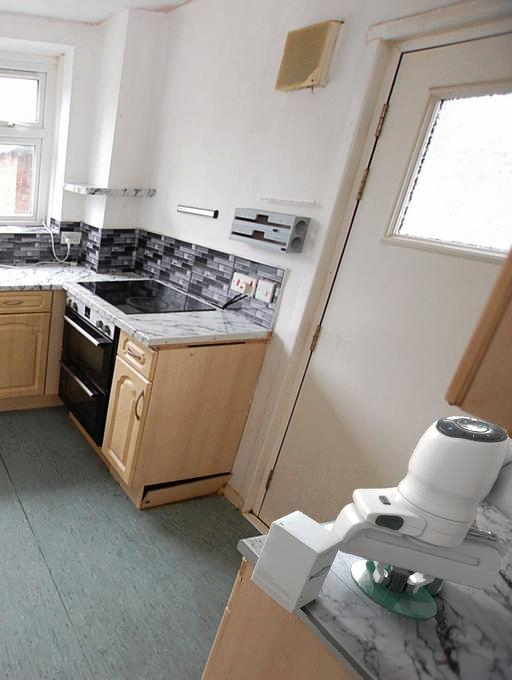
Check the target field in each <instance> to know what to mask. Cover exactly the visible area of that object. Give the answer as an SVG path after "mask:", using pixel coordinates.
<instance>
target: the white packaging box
mask: <svg viewBox="0 0 512 680" xmlns="http://www.w3.org/2000/svg"><path fill="white" fill-rule="evenodd" d="M342 542H343V539H342V538H340V537H339V536H337V535H336V534H334V533H333V532H331V529H328V528H326V527H325V526H323V525H322V524H321V523H319V522H317V521H316V520H314V519H313V518H311V517H309V516H308V515H306V514H305V513H303V512H302V511H300V510H295V511H293V512H291V513H288V514H287V515H284V516H282V517H281V518H278V519H276V520H274V521H272V522H271V525H270V527H269V530H268V533H267V535H266V538H265V541H264V543H263V545H262V548H261V551H260V554H259V556H258V559H257V561H256V564H255V566H254V570H253V571H252V574H251V577H250V581H251V582H253V583H254V584H255V585H256V586H257V587H258V588H259V589H261V590H262V591H263V592H264V593H265V594H267V595H268V596H269V597H270V598H271V599H273V600H274V601H275V602H276V603H277V604H278V605H280V606H281V607H282V608H283V609H284V610H285V611H286V612H288V613H289V614H291V615H292V614H294V613H295V612H297V611H298V610H299V609H301V608H302V607H304V606H306V605H307V604H308V603H310V602H313V601H314V600H316V599H318V596H319V594H320V593H321V589H322V588H323V586H324V583H325V581H326V579H327V577H328V575H329V573H330V571H331V568H332V567H333V563H334V562H335V559H336V557H337V555H338V553H339V548H340V546H341V544H342Z"/></svg>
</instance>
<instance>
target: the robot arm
mask: <svg viewBox="0 0 512 680" xmlns="http://www.w3.org/2000/svg"><path fill="white" fill-rule="evenodd" d="M352 500H353V502H350V503H348V504H347V505H345V506H344V507H343V508H342V509H341V510H340V512H339V513H338V515H337V517H336V519H335V521H334V523H333V524H332V527H331V529H330V531H331V532H333V533H334V534H336V535H337V536H339V537H340V538H342V539H343V542H342V544H341V546H340V548H339V550H338V552H340V553H344V554H347V555H350V556H355V557H359V558H362V559H365V560H373V561H374V564H375V567H376V569H375V571H374V573H373V577H374V579H375V581H376V583H380V584H383V585H388V584H389V583H388V582H390V580H391V577H390V576H389V575H388V572H387V570H384V569H383V568H386V569H387V568H388V566H389V565H391V566H395V567H399V568H402V569H406V570H410V571H413V572H416V573H415V574H413V575H411V576H410V577H409V579H408V581H407V583H406V585H405V587H404V589H403V590H405V591H408V592H411V593H415V594H416V593H417V591H418V589H419V587H421V586H424V585H426V584H429V583H431V582H433V581H434V579H435V577H436V578H439V579H443V580H447V581H446V582H449V583H454V584H458V585H462V586H465V587H469V588H473V589H476V590H481V591H485V590H488V589H490V588H492V587H493V586H494V585H495V583H496V580H497V579H498V575H499V573H500V570H501V567H502V559H503V558H505V556H506V555H507V554H508V551H509V550H510V546H509V542H508V541H507V540H506V539H505V538H504V537H502V536H501V534H499V533H497V532H493V531H490V530H489V531H488V530H487V531H486V530H482V529H479V528H476V527H473V526H472V525H473V524H474V522H475V521H476V518H477V517H478V516H477V515H478V509H479V508H480V507H488V508H491V509H492V510H494V511H495V512H496V513H498V514H499V515H500V516H501V517H503V518H505V519H506V520H507V521H508V522H510V523H511V524H512V438H511V437H510V436H509V434H508V433H507V432H506V430H504V429H503V428H501V427H500V426H498V425H496V424H494V423H491V422H488V421H485V420H482V419H479V418H474V417H468V416H459V415H455V416H454V415H453V416H444V417H441V418H438V419H437V420H435V421H434V422H433V423H432V424H431V425H430V426H429V427H428V428H427V429H426V430H425V432H424V433H423V435H422V436H421V438H420V439H419V441H418V443H417V444H416V446H415V447H414V450H413V452H412V454H411V456H410V458H409V461H408V465H407V473H406V475H405V477H404V478H403V479H402V480H401V481H399V483H398V485H397V487H386V488H357V489H354V491H353V493H352Z"/></svg>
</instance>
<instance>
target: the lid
mask: <svg viewBox="0 0 512 680" xmlns="http://www.w3.org/2000/svg"><path fill="white" fill-rule="evenodd" d="M375 569H376V567H375V564H374V561H370V560H369V559H365V560H364V559H362V560H358V561H356V562H354V563H353V564H352V565H351V568H350V572H349V573H350V576H351V580H352V581H353V583H354V585H355V586H356V587H357V589H359V591H361V592H362V594H363V595H365V596H366V597H367V598H368V599H370V601H372V602H374V603H375V604H376V605H378V606H379V607H381V608H382V609H384V610H386V611H387V612H390V613H392V614H394V615H395V616H398V617H402V618H405V619H408V620H411V621H416V622H417V621H418V622H426V621H430V620H432V619H433V618H434V617H436V615H437V614H438V613H437V612H438V605H437V603H436V600H435V599H434V597H433V595H430V594H429V592H428V591H427V590H426V589H425V588H424V587H423V586H421V587H419V589H418V591H417V593H416V594H415V593H411V592H408V591H405V590H403V589H404V587H405V585H406V583H407V581H408V579H409V577H410V573H409V572H408V571H407V570H406V569H402V568H399V567H395V566H388V568H387V569H386V568H383V569H384V570H387V572H388V575H389V576H390V577H391V580H390V582H388V583H389V584H388V585H383V584H380V583H376V581H375V579H374V577H373V573H374V571H375Z"/></svg>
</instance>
